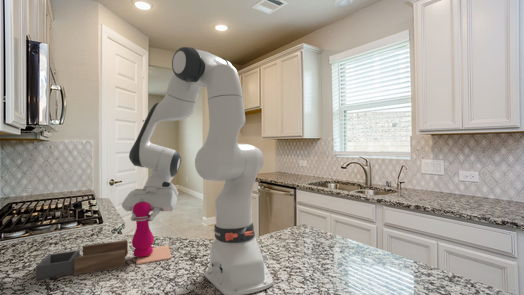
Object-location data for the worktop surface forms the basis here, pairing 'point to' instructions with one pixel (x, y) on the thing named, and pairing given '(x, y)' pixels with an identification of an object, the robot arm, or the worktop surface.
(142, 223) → the pepper mill
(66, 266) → the box
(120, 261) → the walnut channel
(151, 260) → the terracotta board
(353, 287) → the worktop surface
